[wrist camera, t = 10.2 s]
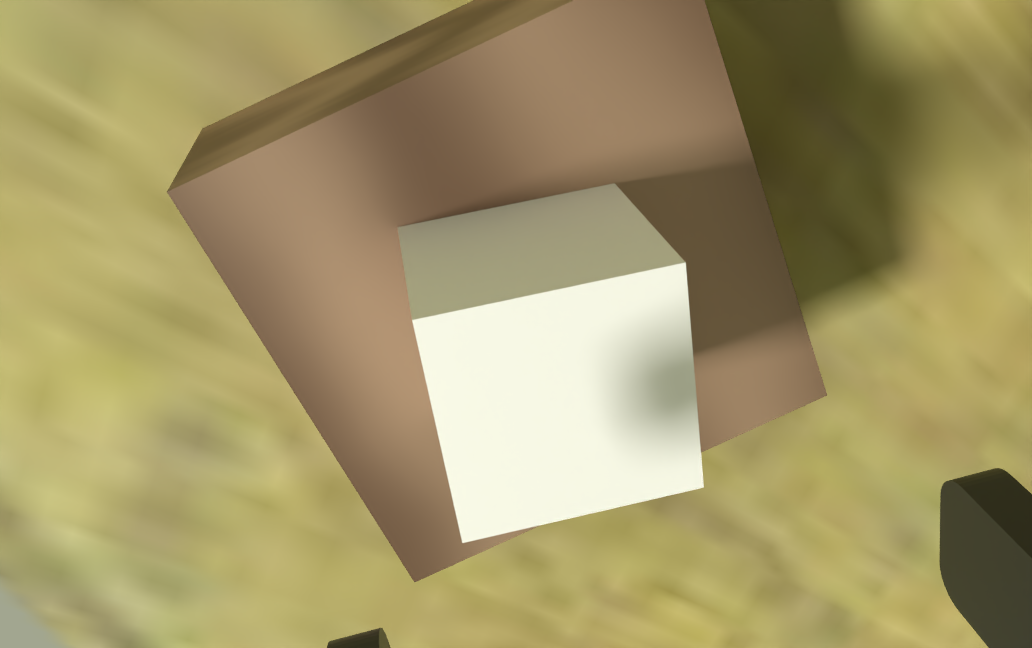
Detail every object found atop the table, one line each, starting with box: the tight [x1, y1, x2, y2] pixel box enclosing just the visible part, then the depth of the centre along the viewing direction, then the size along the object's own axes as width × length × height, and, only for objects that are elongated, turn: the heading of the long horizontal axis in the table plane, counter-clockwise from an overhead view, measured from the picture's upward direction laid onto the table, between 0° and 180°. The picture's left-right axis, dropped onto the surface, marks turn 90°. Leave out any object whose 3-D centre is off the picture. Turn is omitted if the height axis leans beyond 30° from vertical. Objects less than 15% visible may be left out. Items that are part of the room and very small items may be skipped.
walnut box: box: [167, 0, 827, 582], centre depth 25 cm, size 12×12×6 cm
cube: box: [397, 183, 704, 543], centre depth 20 cm, size 5×5×5 cm
